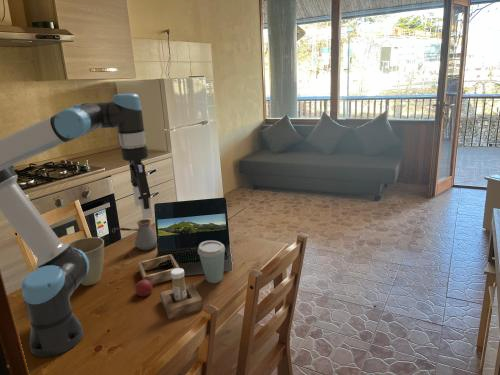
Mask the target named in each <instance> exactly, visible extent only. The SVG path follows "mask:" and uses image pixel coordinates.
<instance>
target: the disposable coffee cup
mask: <svg viewBox="0 0 500 375" xmlns="http://www.w3.org/2000/svg"><path fill="white" fill-rule="evenodd" d="M225 252H226V248H225V245H224V244H223V243H222V242H221V241H218V240H205V241H202V242H200V243H199V245H198V248H197V254H198V255H199V260H200V263H201V266H202V267H201V268H202V269H203V270H202V271H203V273H204V278H205V280H206V282H208V283H210V284H217V283H219V282H221V281H222V280H223V278H224V266H225V264H224V263H225Z"/></svg>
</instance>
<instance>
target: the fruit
mask: <svg viewBox="0 0 500 375" xmlns="http://www.w3.org/2000/svg"><path fill="white" fill-rule="evenodd" d="M134 289H135V293H136V294H137V295H138V296H140V297H143V298H144V297H147V296H149V295H150V294H151V292H152V290H153V285H152V284H151V282H150V281H148V280H143V279H142V280H139V281H138V282H137V283H136V285H135V288H134Z"/></svg>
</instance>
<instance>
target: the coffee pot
mask: <svg viewBox="0 0 500 375" xmlns="http://www.w3.org/2000/svg"><path fill="white" fill-rule="evenodd" d="M151 222H152V220H151V219H150V218H147V219H140V220H138V221H137V222H136V224H137V225H138V228H128V227H113V228H112V229H111V232H112V233H113V234H115V232H116V230H117V231H124V232H125V231H128V232H131V231H135V232H136V235H135V240H134V246H135V247H136V248H137V249H139V250H140V251H150V250H153V249H155V248H156V247H157V245H158V244H157V237H156V235H157V233H156V232H155V230H154V229H153V227H152V226H151ZM113 230H114V231H113Z"/></svg>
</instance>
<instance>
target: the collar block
mask: <svg viewBox="0 0 500 375" xmlns="http://www.w3.org/2000/svg"><path fill="white" fill-rule="evenodd" d="M185 286H186V293H187V300H184V301H180V302H177V303H175V298H174V291H173V288H171V289H168V290H164V291H161V292H159V295H160V296H159V297H160V302H161V304H162V306H163V309H164V311H165V313H166V316H167V318H168V319H169V320H170V319H173V318H177V317H180V316H183V315H186V314H190V313H193V312H196V311H199V310H202V309H204V303H203V299H202V297H201V295H200V294H199V291H198V290H197V289H196V287H195V286H194V285H193V283H188V284H185Z"/></svg>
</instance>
